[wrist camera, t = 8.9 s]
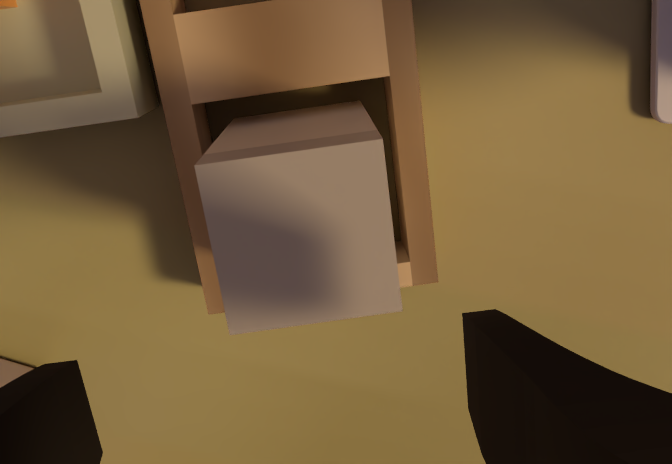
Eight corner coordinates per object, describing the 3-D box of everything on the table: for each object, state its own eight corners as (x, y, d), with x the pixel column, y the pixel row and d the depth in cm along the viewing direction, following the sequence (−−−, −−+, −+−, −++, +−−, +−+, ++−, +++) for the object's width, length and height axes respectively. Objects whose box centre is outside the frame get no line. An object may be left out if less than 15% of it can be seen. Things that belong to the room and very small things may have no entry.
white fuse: (359, 100, 20) (382, 138, 13) (374, 221, 21) (402, 311, 15) (234, 118, 20) (194, 165, 13) (256, 237, 21) (230, 335, 15)
